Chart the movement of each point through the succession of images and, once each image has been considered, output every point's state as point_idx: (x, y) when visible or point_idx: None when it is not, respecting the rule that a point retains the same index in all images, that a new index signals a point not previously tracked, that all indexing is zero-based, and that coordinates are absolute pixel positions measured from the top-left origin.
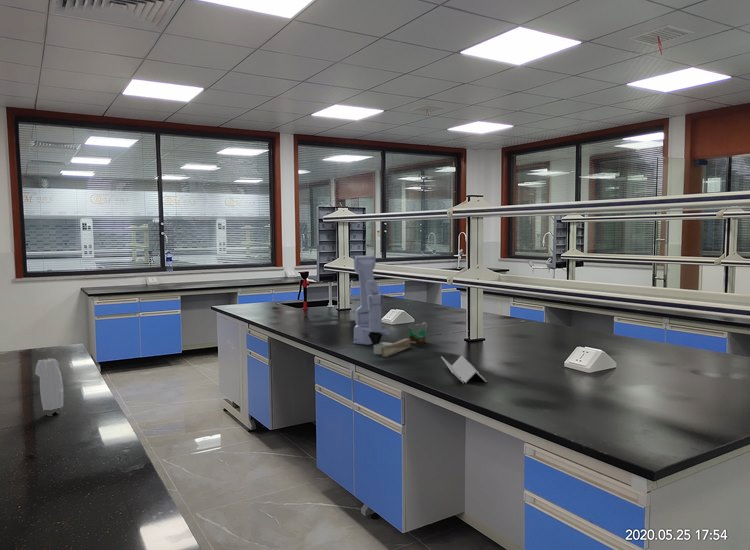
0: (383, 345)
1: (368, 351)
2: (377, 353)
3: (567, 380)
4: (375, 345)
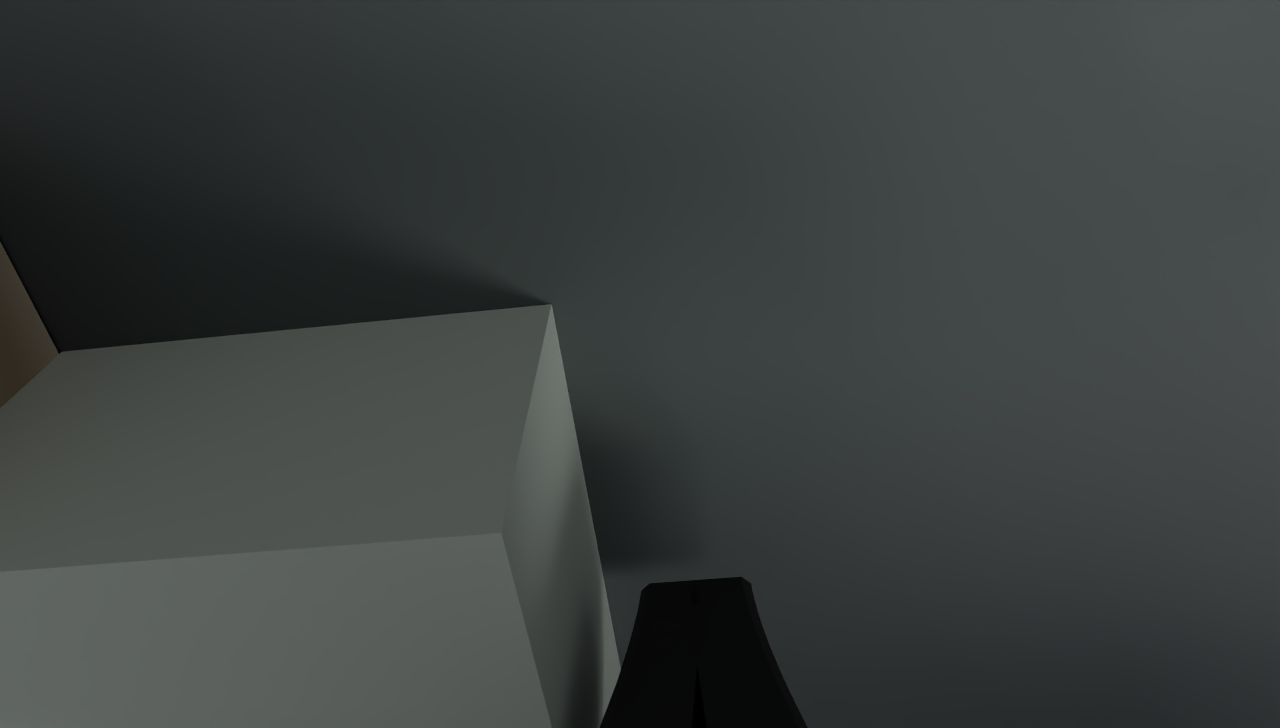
0: (88, 710)
1: (953, 461)
2: (373, 333)
3: None
4: (398, 559)
